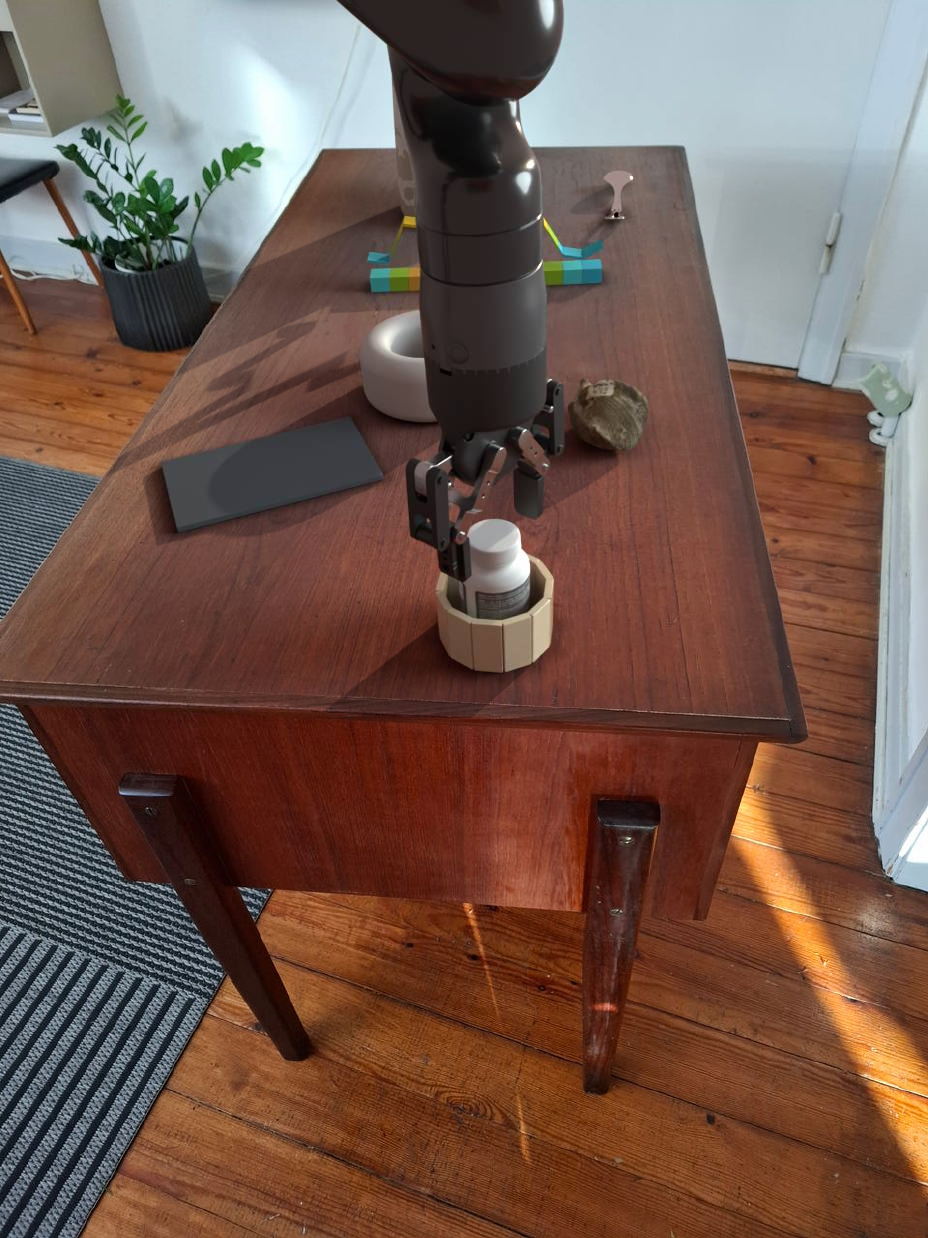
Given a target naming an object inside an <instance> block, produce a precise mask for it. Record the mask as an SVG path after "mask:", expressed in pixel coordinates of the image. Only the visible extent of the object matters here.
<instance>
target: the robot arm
mask: <svg viewBox="0 0 928 1238" xmlns="http://www.w3.org/2000/svg"><path fill="white" fill-rule="evenodd" d="M335 1H336V2H337V3H338V4H340V6H342V7H343V8H344V9H345V10H346V11H347V12H348V13H349V14H351V15H352V16H353V17H354V18H355V19H357V20H358V21H359V22H360V23H361V24H362V25H363V26H365V28H367V29H368V30H369V31H370V32H371V33H373V34H374V35H375V36H376V37H377V38H378V39H380V40H381V41H382V42H383V43H384V44H385V45H386V50H387V54H388V55H387V56H388V61H389V66H390V67H389V69H390V74H391V80H392V79H393V84H394V89H395V94H396V99H397V104H398V109H399V113H400V118H401V123H402V127H403V131H404V136H405V140H406V144H407V148H408V153H409V157H410V162H411V168H412V174H413V182H414V208H415V222H416V228H415V233H416V242H417V253H418V254H417V255H418V264H419V267H420V289H419V291H418V307H419V308H418V310H420V321H421V331H422V341H423V352H424V362H425V372H426V383H427V393H428V403H429V407H430V409H431V411H432V413H433V415H434V416H435V418H436V420H437V421H438V422H437V423H438V425H439V427H440V440H439V443H438V448H437V453H436V454H434V455H432V456H430V457H429V458H428V459H425V460H422V459H419V458H417V457H412V458H410V459H409V460H408V461H407V462H406V465H405V469H404V472H405V485H406V500H407V511H408V525H409V536H410V537H411V538H412V539H414V540H416V541H418V542H421V543H423V544H425V545H427V546H430V547H432V548H433V549H434V550H436V555H437V561H438V562H437V565H438V569H439V572H442V573H444V574H446V575H448V576H450V577H452V578H454V579H456V580H458V581H460V582H465V581H466V580H467V579H468V578H470V577H471V576H472V569H471V554H470V540H469V537H467V535H468V532H469V529H470V527H471V526H472V525H473V524H472V523H473V520H474V519H475V515H476V514H478V513H481V512H483V511H484V509H485V507H486V504H487V501H488V499H489V495H490V493H491V489H493V488H494V487H495V486H496V485H497V483H498V482H499V481H500V480H501V479H502V478H503V477H505V476H508V475H509V474H511V473H512V478H513V479H512V480H513V481H512V483H513V508H514V510H515V512H516V513H517V514H519V515H521V516H524V517H526V518H528V519H530V520H533V521H536V520H538V519H539V518H540V517H541V516H542V515H543V514H544V501H545V476H546V475H547V474H548V472H549V470H550V467H551V462H550V460H551V458H553V456H554V457H556V458H557V457H560V456H561V455H562V453H563V452H564V449H565V405H564V404H565V401H564V399H565V397H564V395H565V394H564V384H563V382H561V381H557V380H554V379H551V378H549V377H547V376H548V373H547V371H548V370H547V369H548V368H547V367H548V365H547V363H548V361H547V360H548V356H547V355H548V354H547V353H548V351H547V349H548V337H547V336H548V334H547V333H548V330H547V329H548V296H547V295H548V294H547V285H546V284H545V277H544V269H543V262H544V257H543V256H544V227H543V224H544V222H543V217H544V194H543V193H544V190H543V189H544V188H543V180H542V172H541V168H540V165H539V162H538V159H537V157H536V154H535V153H534V151H533V150H532V147H531V146H530V144H529V142H528V140H527V138H526V135H525V133H524V130H523V129H524V128H523V125H522V118H521V108H520V100H521V99H523V98H524V97H526V96H527V95H529V94H531V92H533V91H534V90H536V88H537V87H538V86H540V84H541V83H542V82H543V81H544V80H545V78H546V77H547V75H548V74H549V72H551V71H550V70H551V69H552V67H553V65H554V64H555V62H556V59H557V57H558V55H559V51H560V49H561V44H562V40H563V34H564V24H565V9H564V0H335ZM543 428H545V429H547V431H548V434H547V433H543ZM456 478H457V479H458V480H459V481H460V482H461V483H463V484H465V485H467V486H470V487H472V488H473V490H472V492H471V494H470V495H468V494H465V493H463V492H461V491H458V490H457V489H455V488H456V487H455V481H456ZM453 505H455V506H457V507H458V508H459V512H458V514H457V517H456V520H455V521H453V520H451V519H450V512H451V509H452V506H453ZM428 520H429V521H428Z"/></svg>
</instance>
